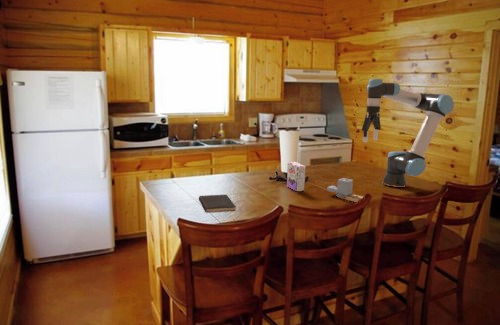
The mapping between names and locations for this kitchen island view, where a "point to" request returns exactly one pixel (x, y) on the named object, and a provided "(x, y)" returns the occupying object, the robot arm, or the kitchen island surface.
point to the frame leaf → (354, 198)
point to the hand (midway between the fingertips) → (370, 141)
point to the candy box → (296, 176)
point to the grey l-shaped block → (342, 187)
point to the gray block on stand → (343, 194)
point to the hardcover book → (216, 203)
